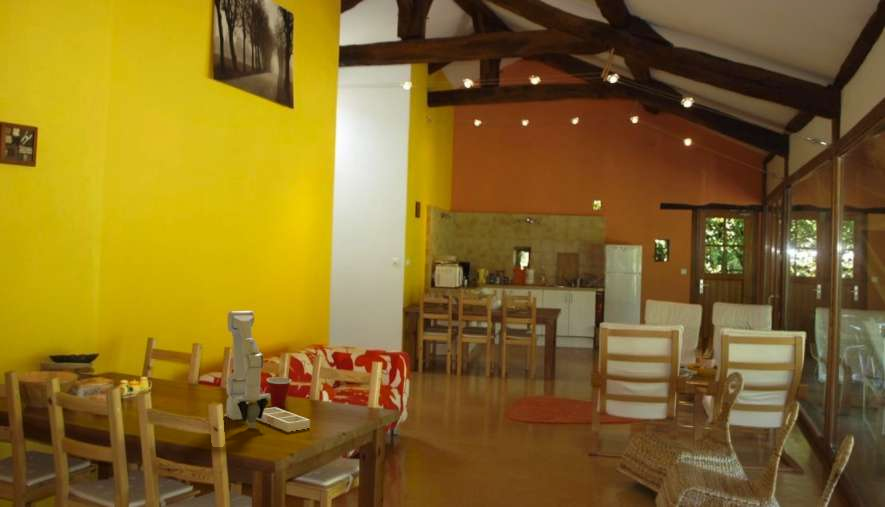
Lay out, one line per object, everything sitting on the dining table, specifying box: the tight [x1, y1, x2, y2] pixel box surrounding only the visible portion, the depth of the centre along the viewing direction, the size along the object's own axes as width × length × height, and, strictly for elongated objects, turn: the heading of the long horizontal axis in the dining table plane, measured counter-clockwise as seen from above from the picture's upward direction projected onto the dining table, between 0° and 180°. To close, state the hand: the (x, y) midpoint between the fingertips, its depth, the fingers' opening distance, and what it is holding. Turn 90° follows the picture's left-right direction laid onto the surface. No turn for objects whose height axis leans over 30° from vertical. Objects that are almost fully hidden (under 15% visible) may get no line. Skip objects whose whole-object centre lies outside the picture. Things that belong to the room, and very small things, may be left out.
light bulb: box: [247, 402, 260, 429], centre depth 286 cm, size 6×6×10 cm
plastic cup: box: [266, 376, 292, 408], centre depth 327 cm, size 11×11×12 cm
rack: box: [256, 407, 311, 433], centre depth 295 cm, size 27×10×4 cm, turn 42°
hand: (252, 419), depth 286 cm, fingers closed on light bulb, 6 cm apart
